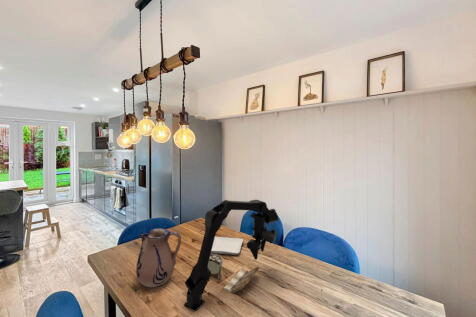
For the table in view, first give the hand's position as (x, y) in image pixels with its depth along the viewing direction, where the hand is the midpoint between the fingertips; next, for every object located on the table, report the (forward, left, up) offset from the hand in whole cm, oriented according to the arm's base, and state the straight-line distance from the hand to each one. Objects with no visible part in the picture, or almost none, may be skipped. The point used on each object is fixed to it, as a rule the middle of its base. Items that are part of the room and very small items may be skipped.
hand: (259, 255), depth 111 cm
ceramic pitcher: (-26, +43, -13) cm, 52 cm away
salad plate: (+21, +33, -13) cm, 41 cm away
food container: (-8, +22, -13) cm, 27 cm away
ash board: (-7, +9, -13) cm, 17 cm away
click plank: (-7, +3, -10) cm, 13 cm away
